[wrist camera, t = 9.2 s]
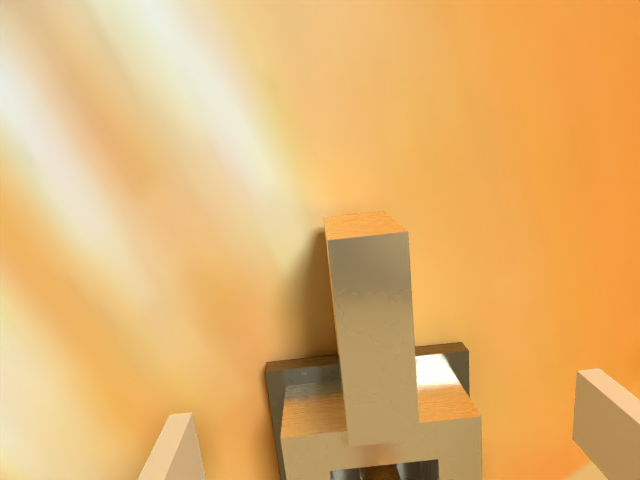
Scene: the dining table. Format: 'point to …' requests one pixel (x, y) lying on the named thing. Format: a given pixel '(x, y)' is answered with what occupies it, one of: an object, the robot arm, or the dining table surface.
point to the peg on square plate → (326, 368)
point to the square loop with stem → (377, 372)
